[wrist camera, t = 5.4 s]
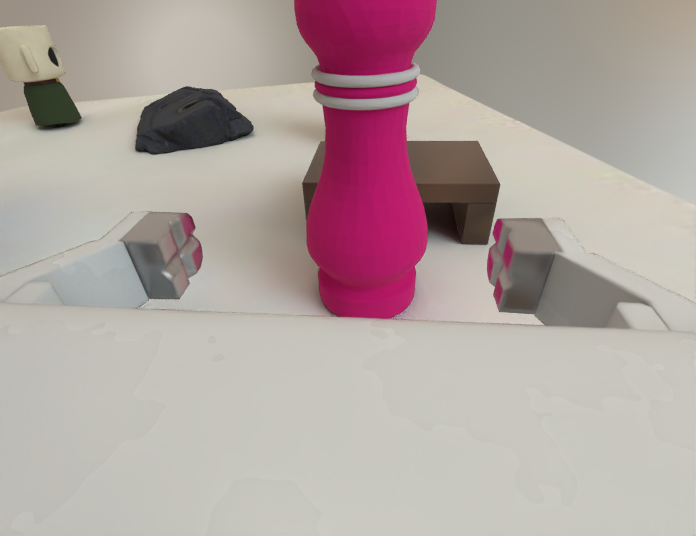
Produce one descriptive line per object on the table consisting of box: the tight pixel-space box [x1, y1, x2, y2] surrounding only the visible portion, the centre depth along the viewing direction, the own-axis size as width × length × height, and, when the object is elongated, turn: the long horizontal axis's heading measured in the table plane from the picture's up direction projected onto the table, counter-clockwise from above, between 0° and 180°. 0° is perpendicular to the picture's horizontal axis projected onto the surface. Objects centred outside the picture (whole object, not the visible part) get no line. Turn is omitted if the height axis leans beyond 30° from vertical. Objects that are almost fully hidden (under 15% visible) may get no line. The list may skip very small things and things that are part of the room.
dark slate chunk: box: [135, 86, 253, 154], centre depth 57 cm, size 15×22×5 cm
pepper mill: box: [294, 0, 437, 319], centre depth 20 cm, size 7×7×20 cm
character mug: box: [0, 25, 82, 127], centre depth 57 cm, size 11×7×13 cm, turn 35°
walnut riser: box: [302, 141, 500, 244], centre depth 33 cm, size 14×9×5 cm, turn 85°
